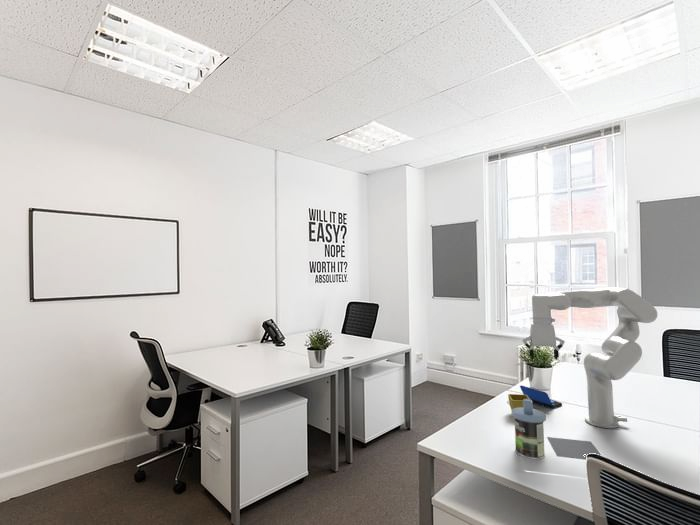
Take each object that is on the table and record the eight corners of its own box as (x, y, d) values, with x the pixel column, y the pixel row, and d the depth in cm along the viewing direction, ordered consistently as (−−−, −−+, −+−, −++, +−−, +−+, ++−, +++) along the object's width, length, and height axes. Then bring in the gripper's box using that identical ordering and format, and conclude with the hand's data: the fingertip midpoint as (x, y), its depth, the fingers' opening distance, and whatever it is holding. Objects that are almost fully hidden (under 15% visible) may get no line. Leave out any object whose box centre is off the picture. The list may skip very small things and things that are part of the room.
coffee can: (525, 460, 130) (523, 422, 130) (510, 447, 140) (508, 411, 141) (551, 458, 131) (549, 420, 131) (534, 445, 141) (533, 410, 141)
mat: (590, 442, 142) (590, 441, 142) (606, 462, 127) (606, 461, 127) (546, 437, 147) (546, 436, 147) (557, 457, 132) (556, 456, 132)
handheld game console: (563, 406, 181) (562, 388, 182) (547, 411, 175) (546, 392, 176) (535, 397, 195) (534, 380, 196) (519, 401, 189) (518, 384, 189)
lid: (542, 411, 140) (541, 396, 140) (549, 424, 128) (548, 407, 128) (509, 409, 143) (508, 394, 143) (514, 421, 132) (513, 404, 132)
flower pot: (532, 420, 165) (531, 400, 165) (513, 419, 167) (512, 400, 167) (527, 412, 173) (526, 394, 174) (508, 411, 175) (507, 393, 175)
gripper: (561, 320, 162) (562, 357, 161) (520, 319, 167) (521, 355, 167) (565, 322, 155) (567, 361, 154) (522, 322, 160) (524, 359, 159)
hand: (543, 358), depth 160 cm, fingers open, 9 cm apart
